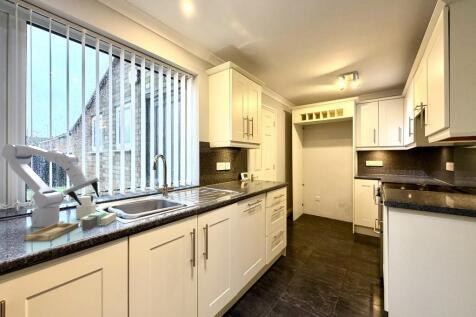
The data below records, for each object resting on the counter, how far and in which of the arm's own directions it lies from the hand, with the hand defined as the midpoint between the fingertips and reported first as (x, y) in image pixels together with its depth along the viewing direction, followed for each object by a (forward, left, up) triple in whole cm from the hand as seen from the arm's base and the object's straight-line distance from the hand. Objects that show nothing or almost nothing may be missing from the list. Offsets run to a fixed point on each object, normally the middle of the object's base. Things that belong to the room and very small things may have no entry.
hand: (90, 200), depth 100 cm
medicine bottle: (-11, +15, -12) cm, 23 cm away
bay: (+2, +5, -12) cm, 13 cm away
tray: (-9, -10, -12) cm, 18 cm away
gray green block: (+2, 0, -12) cm, 12 cm away
